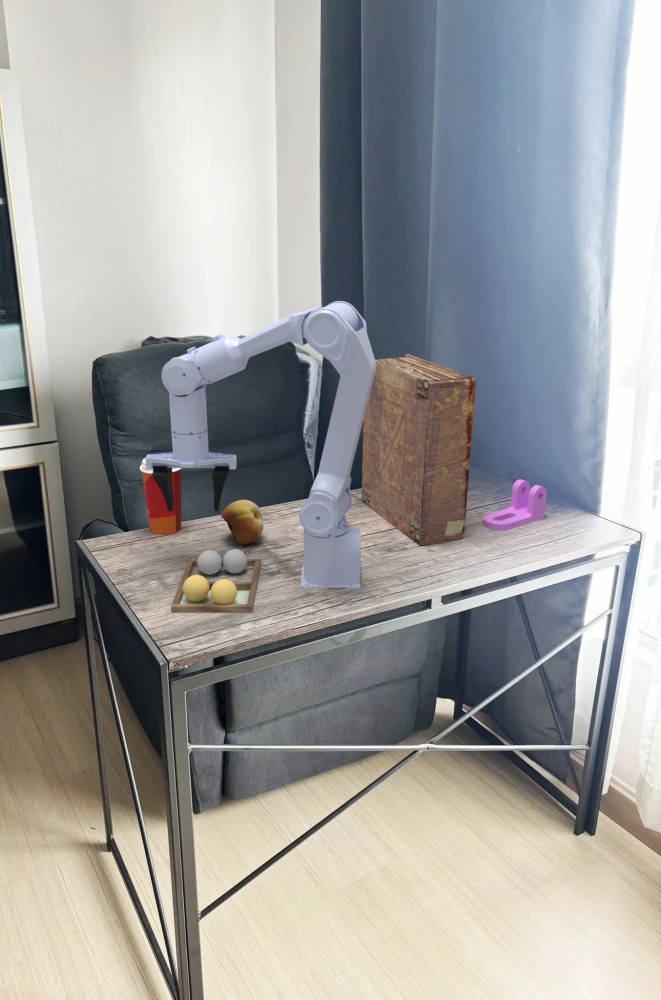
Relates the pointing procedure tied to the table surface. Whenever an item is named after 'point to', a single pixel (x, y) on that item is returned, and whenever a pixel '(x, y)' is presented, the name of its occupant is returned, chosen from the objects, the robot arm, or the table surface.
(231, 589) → the ochre ball
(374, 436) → the book
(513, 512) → the bracket
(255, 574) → the sorting board
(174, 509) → the paper cup
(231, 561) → the grey ball
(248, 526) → the fruit
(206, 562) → the grey ball
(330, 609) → the table surface
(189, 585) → the ochre ball
